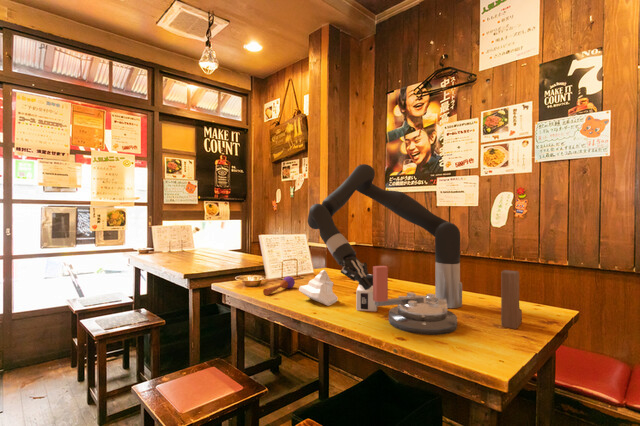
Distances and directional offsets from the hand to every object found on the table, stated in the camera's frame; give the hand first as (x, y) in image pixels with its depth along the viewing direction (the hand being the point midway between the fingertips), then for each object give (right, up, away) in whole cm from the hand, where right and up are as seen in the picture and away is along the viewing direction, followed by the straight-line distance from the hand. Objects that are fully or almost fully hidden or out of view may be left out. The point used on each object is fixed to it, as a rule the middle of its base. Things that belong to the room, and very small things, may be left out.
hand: (368, 288), depth 112 cm
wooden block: (+47, -12, -1) cm, 49 cm away
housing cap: (+18, -12, +1) cm, 22 cm away
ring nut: (+14, -9, -1) cm, 16 cm away
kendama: (-36, -12, +47) cm, 60 cm away
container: (+2, -12, +18) cm, 22 cm away
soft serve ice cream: (-16, -12, +28) cm, 34 cm away
